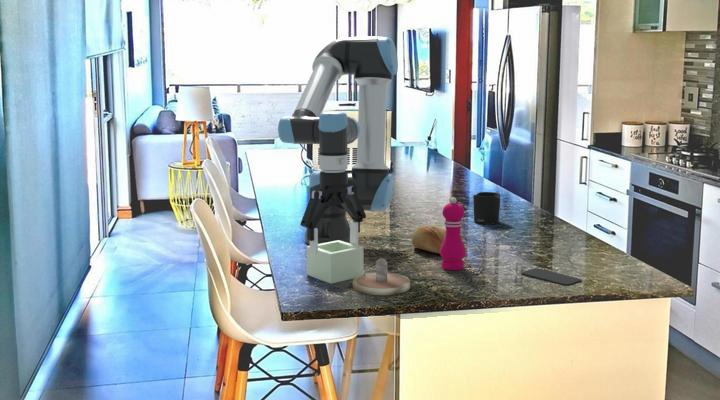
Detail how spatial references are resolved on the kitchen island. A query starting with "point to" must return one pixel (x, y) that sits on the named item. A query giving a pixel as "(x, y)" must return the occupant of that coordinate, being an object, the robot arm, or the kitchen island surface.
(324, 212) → the robot arm
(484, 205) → the pen holder
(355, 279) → the post stand
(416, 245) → the bread roll
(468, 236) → the kitchen island surface
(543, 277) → the phone
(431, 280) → the kitchen island surface
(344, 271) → the square ring
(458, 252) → the pepper mill
